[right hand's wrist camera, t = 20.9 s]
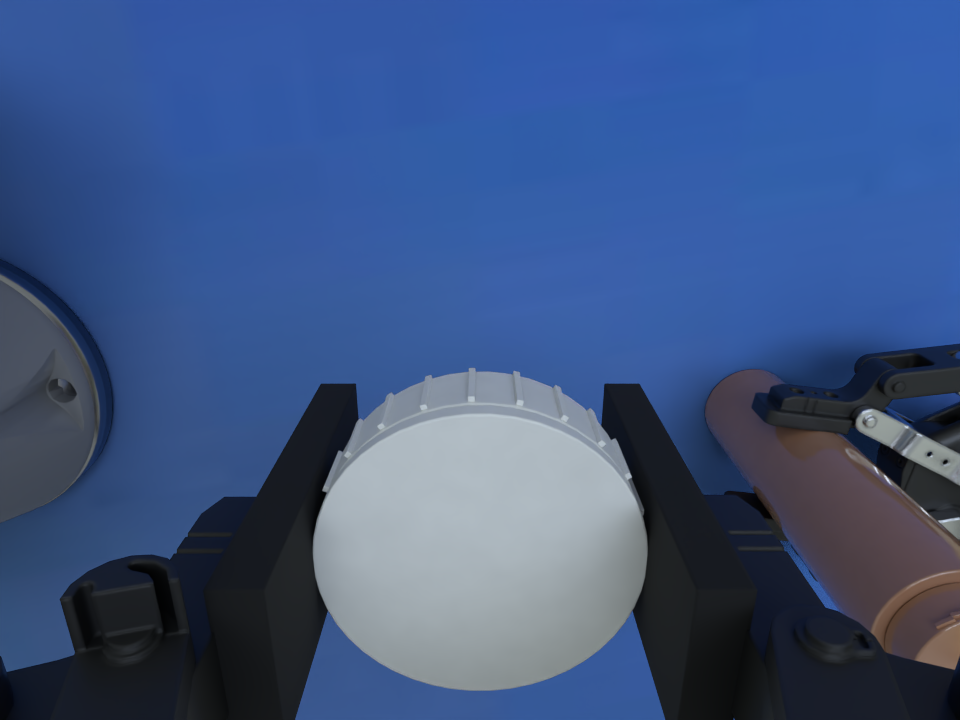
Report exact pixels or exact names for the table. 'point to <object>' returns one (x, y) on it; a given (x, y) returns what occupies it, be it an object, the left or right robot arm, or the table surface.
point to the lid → (480, 533)
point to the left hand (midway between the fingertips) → (744, 460)
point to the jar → (847, 524)
